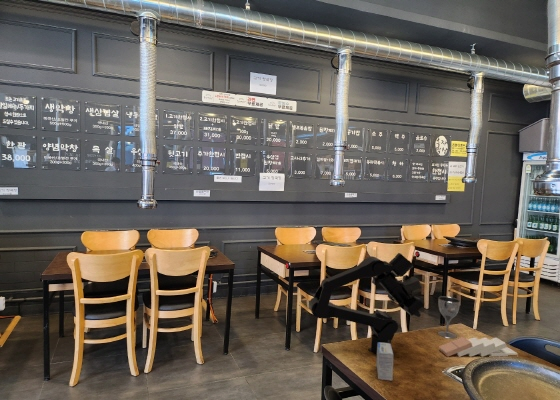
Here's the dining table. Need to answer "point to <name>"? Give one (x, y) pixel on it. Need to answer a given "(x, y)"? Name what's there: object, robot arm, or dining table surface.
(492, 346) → the domino
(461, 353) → the domino
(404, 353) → the dining table surface
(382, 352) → the medicine box
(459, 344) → the domino
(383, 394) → the dining table surface
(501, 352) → the domino
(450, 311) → the wine glass
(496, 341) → the domino
